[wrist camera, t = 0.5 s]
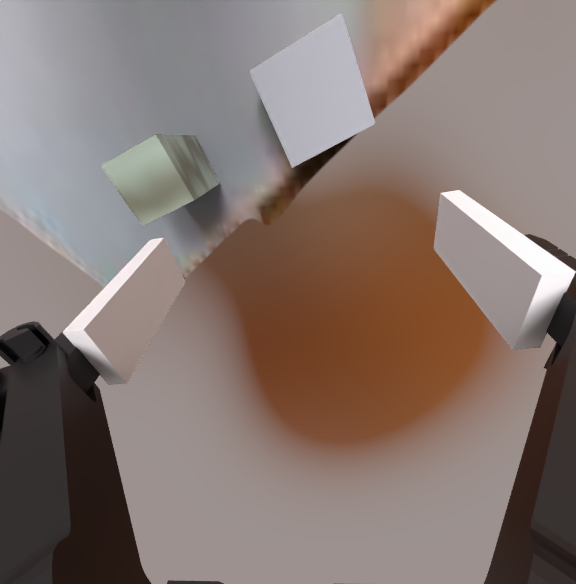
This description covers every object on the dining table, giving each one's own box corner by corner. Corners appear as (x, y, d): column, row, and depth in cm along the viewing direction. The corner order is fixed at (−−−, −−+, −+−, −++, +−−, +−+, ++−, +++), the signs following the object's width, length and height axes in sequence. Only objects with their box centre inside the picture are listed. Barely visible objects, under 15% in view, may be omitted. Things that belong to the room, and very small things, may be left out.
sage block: (154, 158, 36) (100, 165, 26) (194, 135, 35) (155, 134, 25) (181, 202, 39) (142, 226, 28) (220, 183, 38) (194, 200, 27)
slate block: (253, 79, 30) (248, 70, 26) (334, 28, 28) (342, 12, 24) (291, 165, 33) (292, 168, 30) (365, 125, 32) (375, 123, 28)
